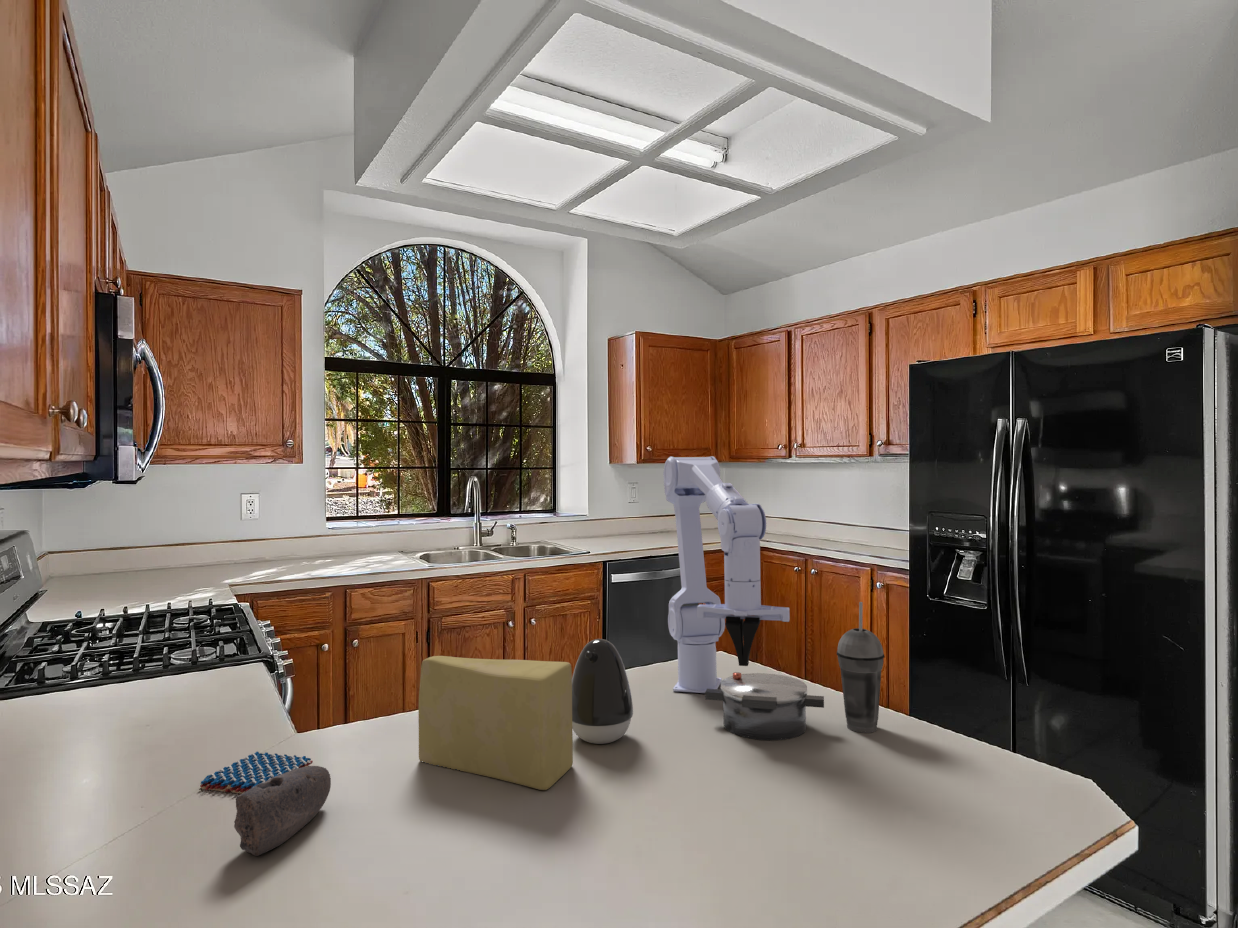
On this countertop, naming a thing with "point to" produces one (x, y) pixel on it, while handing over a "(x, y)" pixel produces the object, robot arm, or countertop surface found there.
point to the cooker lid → (763, 689)
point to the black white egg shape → (600, 694)
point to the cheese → (497, 718)
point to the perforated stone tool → (280, 807)
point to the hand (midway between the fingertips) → (743, 664)
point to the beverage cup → (861, 676)
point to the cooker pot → (765, 717)
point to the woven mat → (252, 772)
